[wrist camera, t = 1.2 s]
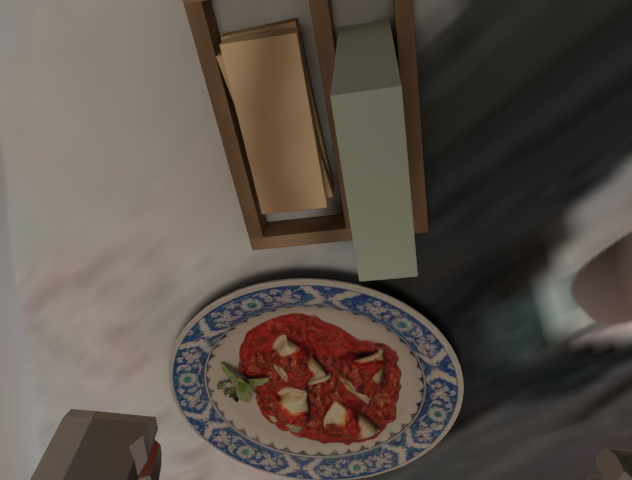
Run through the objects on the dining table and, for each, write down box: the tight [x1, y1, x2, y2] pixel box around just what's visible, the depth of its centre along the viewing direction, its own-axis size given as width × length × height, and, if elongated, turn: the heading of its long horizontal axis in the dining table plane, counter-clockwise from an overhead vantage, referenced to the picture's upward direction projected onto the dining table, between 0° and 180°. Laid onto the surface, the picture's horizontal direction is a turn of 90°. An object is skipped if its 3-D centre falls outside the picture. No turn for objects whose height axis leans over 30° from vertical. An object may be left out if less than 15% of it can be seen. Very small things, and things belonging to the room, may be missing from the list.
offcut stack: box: [216, 18, 334, 214], centre depth 36 cm, size 5×12×4 cm, turn 12°
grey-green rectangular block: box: [330, 19, 418, 282], centre depth 31 cm, size 3×10×12 cm, turn 10°
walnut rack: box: [183, 0, 428, 250], centre depth 36 cm, size 13×18×2 cm
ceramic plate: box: [169, 278, 464, 480], centre depth 50 cm, size 26×26×3 cm
